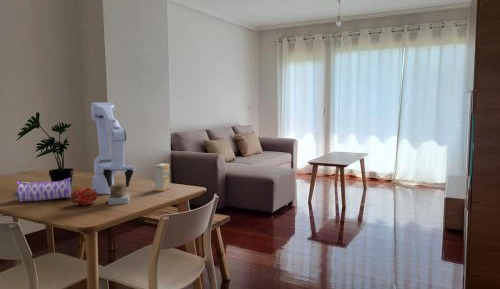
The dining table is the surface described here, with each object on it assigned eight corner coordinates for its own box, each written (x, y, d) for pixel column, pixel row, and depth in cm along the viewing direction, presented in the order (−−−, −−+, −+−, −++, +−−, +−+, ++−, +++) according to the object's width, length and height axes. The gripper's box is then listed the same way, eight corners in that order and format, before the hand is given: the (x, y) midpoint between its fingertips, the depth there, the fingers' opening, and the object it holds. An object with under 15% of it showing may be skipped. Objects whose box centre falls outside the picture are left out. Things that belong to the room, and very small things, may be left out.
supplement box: (163, 191, 185) (163, 165, 184) (154, 191, 186) (154, 165, 185) (170, 188, 193) (169, 163, 192) (161, 187, 194) (161, 162, 193)
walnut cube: (110, 197, 163) (110, 186, 162) (114, 194, 168) (114, 183, 167) (121, 197, 163) (121, 186, 162) (125, 194, 168) (125, 183, 167)
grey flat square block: (108, 205, 161) (108, 198, 161) (111, 200, 169) (111, 194, 168) (127, 204, 162) (127, 197, 162) (129, 200, 170) (129, 193, 170)
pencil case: (14, 204, 160) (13, 182, 159) (19, 199, 169) (17, 178, 168) (71, 200, 168) (70, 179, 167) (72, 195, 177) (71, 175, 176)
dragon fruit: (67, 210, 157) (96, 209, 165) (74, 202, 151) (103, 201, 159) (66, 192, 160) (94, 192, 168) (72, 183, 155) (101, 183, 163)
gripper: (97, 157, 159) (98, 188, 161) (131, 157, 159) (132, 188, 161) (104, 155, 166) (105, 184, 168) (136, 155, 166) (137, 185, 168)
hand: (118, 186), depth 165 cm, fingers open, 7 cm apart
